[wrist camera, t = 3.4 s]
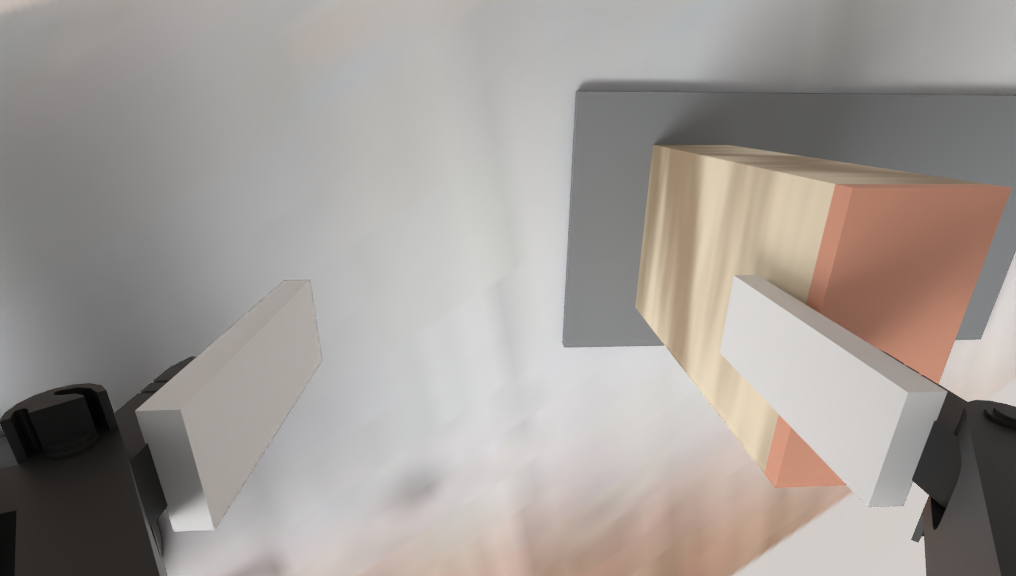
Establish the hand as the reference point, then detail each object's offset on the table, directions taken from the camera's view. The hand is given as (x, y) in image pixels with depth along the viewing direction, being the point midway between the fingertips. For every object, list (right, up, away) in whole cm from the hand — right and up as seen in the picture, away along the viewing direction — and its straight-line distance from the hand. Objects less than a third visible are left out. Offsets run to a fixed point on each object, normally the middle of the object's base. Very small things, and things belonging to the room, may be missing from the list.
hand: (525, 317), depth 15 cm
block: (+9, +4, +11) cm, 15 cm away
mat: (+16, +4, +12) cm, 20 cm away
